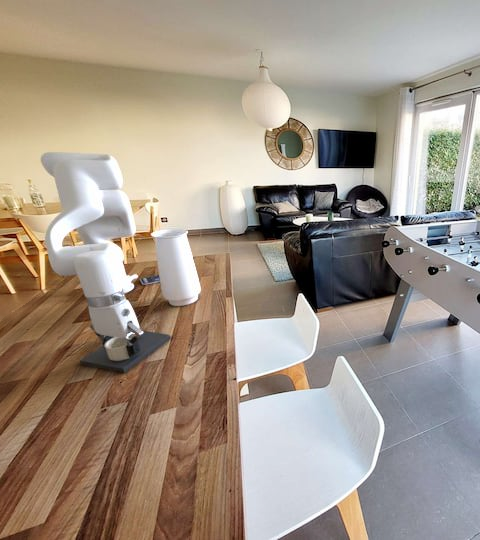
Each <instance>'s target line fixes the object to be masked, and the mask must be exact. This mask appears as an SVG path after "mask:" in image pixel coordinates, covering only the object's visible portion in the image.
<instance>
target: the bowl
mask: <svg viewBox="0 0 480 540" xmlns="http://www.w3.org/2000/svg"><path fill="white" fill-rule="evenodd" d="M128 338H129V339H130V340H131V339H132V338H133V337H132V336H131V335H130V336H128ZM126 346H127V344H126V342H125V341H124V340H123V338H118V337H114V338H111V339H110V340H108V341H107V342H106V343H105V346H104V347H105V350H106V352H107V355H108V358H109V359H110V360H114V361H121V360H125V359H128V358H130V357H129V355H128V352H127V349H126Z"/></svg>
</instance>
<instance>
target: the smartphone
mask: <svg viewBox="0 0 480 540" xmlns="http://www.w3.org/2000/svg"><path fill="white" fill-rule="evenodd" d="M139 281H140V283H141V284H142V285H143V286H146V285H151V284H152V285H153V284H156V283H160V277H159V274H156V275H151V276H146V277H141V278H139Z"/></svg>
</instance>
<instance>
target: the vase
mask: <svg viewBox="0 0 480 540" xmlns="http://www.w3.org/2000/svg"><path fill="white" fill-rule="evenodd" d="M188 233H189V231H188V230H187V229H185V228H166V229H160V230H156V231H153V232H152V233H150V236H151V237H153V238H154V246H155V253H156V261H157V269H158V275H159V277H160V282H159V283H160V289H161V294H162V297H163V299H165V300H166V301H168V303H169V305H171V306H174V307H182V306H187V305H191V304H193V303H195V302H196V301H197V300H198V299H199V294H200V293H201V284H200V279H199V276H198V272H197V268H196V264H195V261H194V257H193V254H192V250H191V247H190V244H189V239H188V236H187V234H188Z"/></svg>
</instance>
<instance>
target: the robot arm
mask: <svg viewBox="0 0 480 540" xmlns="http://www.w3.org/2000/svg"><path fill="white" fill-rule="evenodd" d="M40 162H41V166H42V167H43V168H44V170H45V171H46V172H47V174H49V175H50V176H51V177H53V178H54V182H55V186H56V190H57V194H58V198H59V204H60V206H61V211H60V213H58V214H57V215H56V216H55V217H54V218H53V220H51V222H50V223H49V225H48V227H47V228H46V231H45V235H44V242H45V243H44V244H45V247H46V252H47V257H48V260H49V264H50V267H51V269H52V270H53V271H54V273H55V274H57V275H58V276H62V277H72V276H77V278H78V280H79V282H80V286H81V288H82V292H83V294H84V297H85V300H86V303H87V306H88V314H89V317H90V322H91V324H90V325H89V329H91V330H92V331H93V332H94V334H95V335H96V336H97V337H98V340H99V341H100V342H102V343H101V344H102V347H103V346H105V343H106V342H107V341H108V340H110V339H111V338H114V337H118V338H123V340H124V341H125V342H126V344H127V346H126V349H127V352H128V355H129V357H131V358H132V357H134V356H135V355H136V354H138V353H139V352H140V351H141V349H140V346H139V342H138V341H139V340H140V338H141V336H142V335H143V334H144V332H143V331H144V330H143V331H142V329H141V330H140V329H139V327H140V324H139V321H138V318H137V315H136V312H135V310H134V308H133V307H132V305H131V303H130V301H129V300H128V299H126V295H125V294H127V293H130V292H131V291H133V289H134V288H135V284H134V283H133V282H132V281H134V280H137V279H138V278H139V275H137V273H133V274H132V275H129V274H127V273H126V270H125V265H124V263H123V262H124V259H125V256H124V252H123V249H122V248H121V247H120V246H118V244H116V243H113V242H112V241H110V240H112V239H114V240H115V239H122V238H130V237H132V236H135V234H136V233H137V231H136V230H137V227H136V223H135V218H134V214H133V210H132V206H131V202H130V200H129V199H130V198H129V197H128V195H127V194H126V192H124V191H122V190H121V188H122V187H123V185H124V184H123V180H124V179H123V175H122V171H121V169H120V166H119V164H118V161H117V160H116V159H115V157H113V156H112V155H110V154H107V153H87V152H86V153H82V152H62V151H61V152H59V151H47V152H44V153H43V154H41V156H40ZM75 230H76V232H77V234H78V236H79V237H80V240H81V242H82V243H83V244H81V245H80V244H79V245H71V246H64V247H63V241H64V239H65V237H66V236H67V235H68V234H69V233H71V232H72V231H75ZM128 331H129V333H128ZM127 333H128V334H127ZM130 335H131V336H132V337H133V338H132V339H131V340H130V339H129V338H128V336H130ZM104 349H105V347H104ZM105 352H106V350H105ZM106 353H107V352H106Z"/></svg>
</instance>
